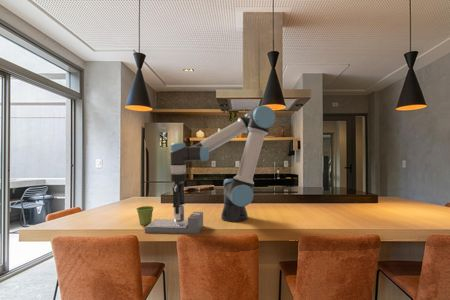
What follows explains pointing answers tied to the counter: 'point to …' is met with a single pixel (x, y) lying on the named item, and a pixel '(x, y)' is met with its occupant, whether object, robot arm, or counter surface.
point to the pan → (168, 223)
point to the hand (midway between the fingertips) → (179, 218)
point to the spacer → (180, 214)
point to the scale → (193, 227)
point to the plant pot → (145, 214)
